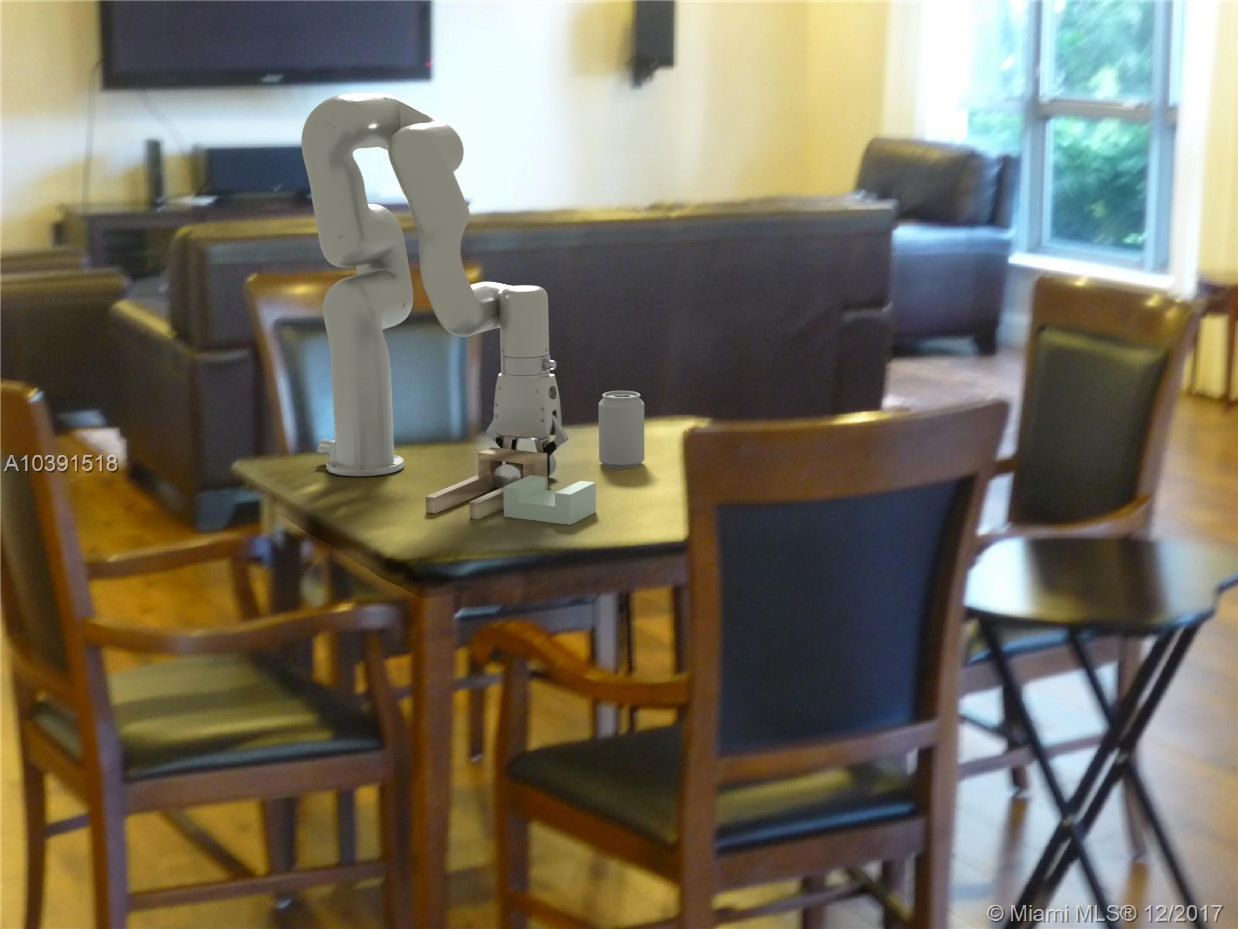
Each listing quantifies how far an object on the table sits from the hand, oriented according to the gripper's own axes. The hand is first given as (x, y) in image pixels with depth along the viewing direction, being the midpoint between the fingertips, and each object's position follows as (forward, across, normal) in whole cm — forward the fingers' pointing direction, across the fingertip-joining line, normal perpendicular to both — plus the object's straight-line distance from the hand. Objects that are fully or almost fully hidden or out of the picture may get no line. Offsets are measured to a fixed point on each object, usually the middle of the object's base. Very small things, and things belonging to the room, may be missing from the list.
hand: (528, 479), depth 270 cm
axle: (+1, 0, +1) cm, 1 cm away
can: (+1, -8, -18) cm, 19 cm away
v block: (+1, -12, +15) cm, 20 cm away
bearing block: (+1, 0, +12) cm, 12 cm away
